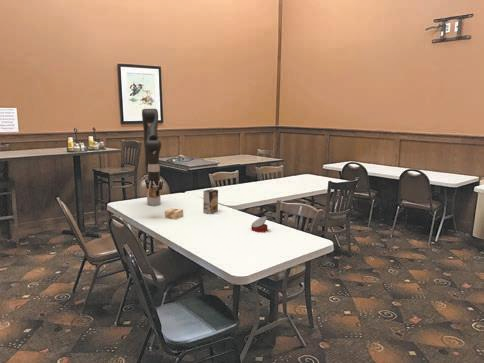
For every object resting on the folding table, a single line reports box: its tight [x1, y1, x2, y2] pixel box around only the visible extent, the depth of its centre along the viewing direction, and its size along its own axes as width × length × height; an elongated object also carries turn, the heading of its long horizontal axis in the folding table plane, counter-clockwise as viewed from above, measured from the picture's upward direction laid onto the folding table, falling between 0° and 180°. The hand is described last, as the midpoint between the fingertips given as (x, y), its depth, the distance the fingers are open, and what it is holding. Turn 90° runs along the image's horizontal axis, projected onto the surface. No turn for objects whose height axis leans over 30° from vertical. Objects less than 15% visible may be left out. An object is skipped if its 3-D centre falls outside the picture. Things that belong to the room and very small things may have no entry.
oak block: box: [164, 208, 184, 220], centre depth 276 cm, size 9×9×5 cm
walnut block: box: [149, 187, 161, 198], centre depth 272 cm, size 5×5×6 cm
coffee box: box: [202, 189, 219, 215], centre depth 290 cm, size 9×6×16 cm
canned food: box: [250, 216, 268, 233], centre depth 249 cm, size 11×10×10 cm
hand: (154, 195), depth 272 cm, fingers closed on walnut block, 5 cm apart
